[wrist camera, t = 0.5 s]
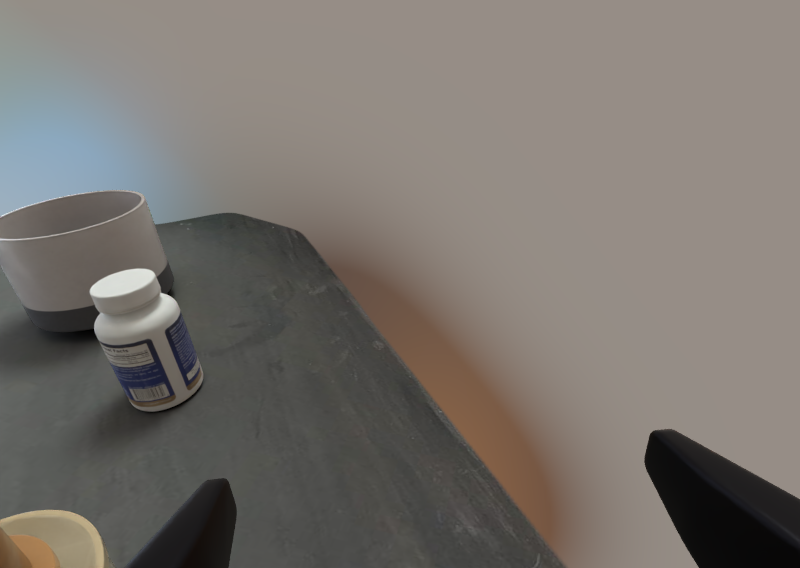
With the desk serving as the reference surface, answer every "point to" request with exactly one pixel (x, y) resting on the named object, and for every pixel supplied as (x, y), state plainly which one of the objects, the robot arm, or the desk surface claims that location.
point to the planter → (77, 253)
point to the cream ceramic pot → (63, 537)
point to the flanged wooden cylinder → (25, 552)
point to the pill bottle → (145, 340)
